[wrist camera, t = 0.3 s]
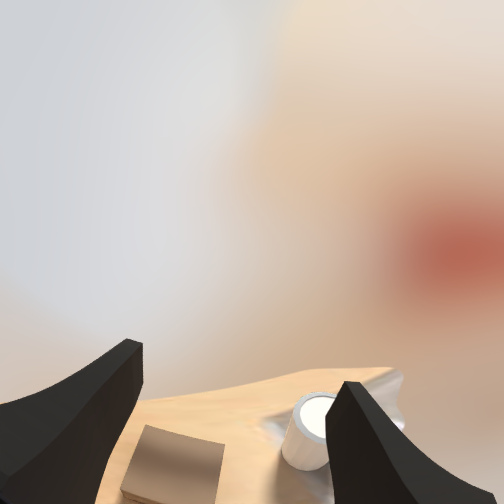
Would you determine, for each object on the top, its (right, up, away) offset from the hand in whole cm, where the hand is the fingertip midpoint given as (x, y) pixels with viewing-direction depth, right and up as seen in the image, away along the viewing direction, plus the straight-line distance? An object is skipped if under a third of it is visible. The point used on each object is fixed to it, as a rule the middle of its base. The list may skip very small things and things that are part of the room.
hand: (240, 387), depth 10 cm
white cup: (+6, -17, +17) cm, 25 cm away
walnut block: (-7, -17, +12) cm, 22 cm away
